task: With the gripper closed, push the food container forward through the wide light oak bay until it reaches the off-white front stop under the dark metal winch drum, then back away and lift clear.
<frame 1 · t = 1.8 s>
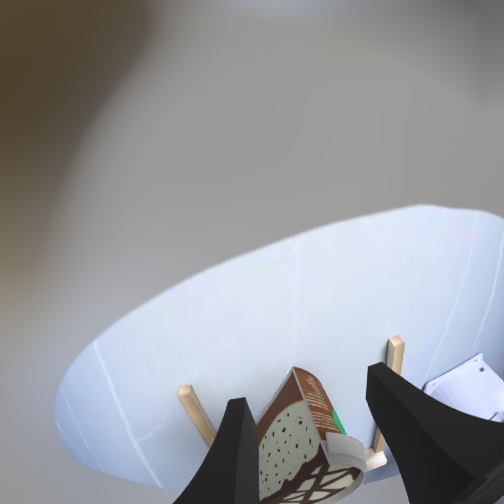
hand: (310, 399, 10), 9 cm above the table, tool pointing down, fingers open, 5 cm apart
food container: (299, 406, 22), on the table
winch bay: (303, 429, 23), on the table
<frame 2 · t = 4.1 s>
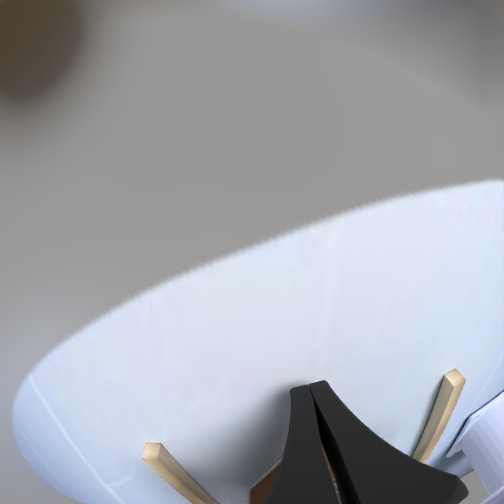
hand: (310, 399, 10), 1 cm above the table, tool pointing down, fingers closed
food container: (315, 463, 14), on the table, touching gripper
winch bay: (317, 484, 15), on the table
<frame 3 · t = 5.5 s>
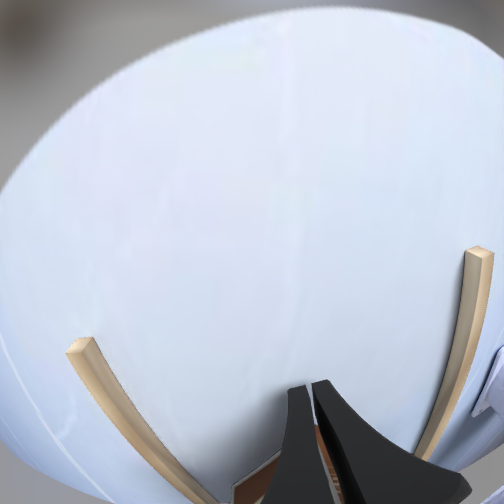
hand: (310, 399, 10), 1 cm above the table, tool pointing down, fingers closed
food container: (304, 465, 14), on the table, touching gripper
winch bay: (313, 439, 13), on the table
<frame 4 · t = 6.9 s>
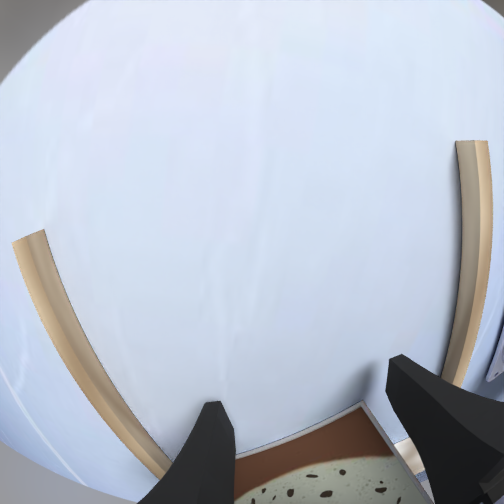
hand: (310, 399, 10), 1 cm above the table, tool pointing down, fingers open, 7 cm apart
food container: (306, 453, 13), on the table, touching gripper, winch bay
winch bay: (299, 389, 11), on the table
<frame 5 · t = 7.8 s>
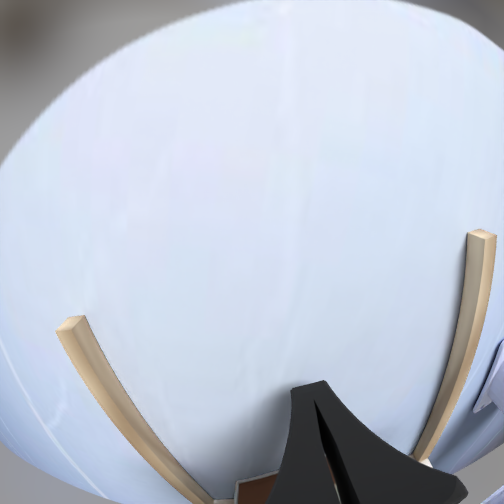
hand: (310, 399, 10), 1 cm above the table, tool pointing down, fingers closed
food container: (313, 473, 14), on the table
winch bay: (311, 431, 12), on the table
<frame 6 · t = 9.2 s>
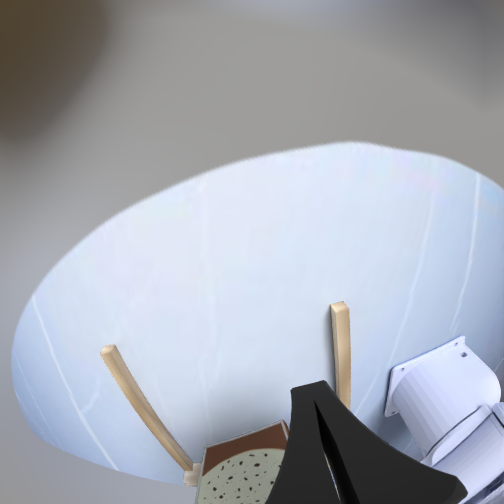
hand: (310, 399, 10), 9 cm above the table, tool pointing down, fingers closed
food container: (257, 445, 24), on the table
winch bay: (244, 412, 22), on the table
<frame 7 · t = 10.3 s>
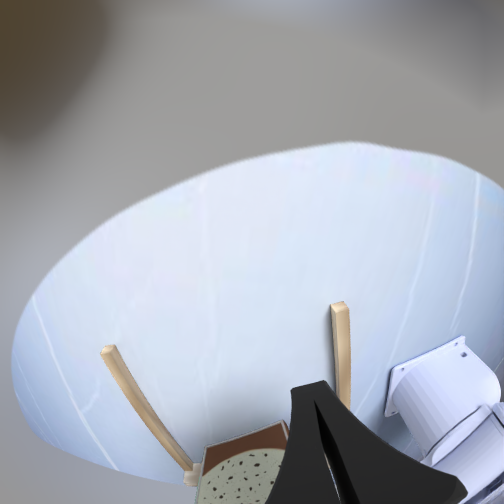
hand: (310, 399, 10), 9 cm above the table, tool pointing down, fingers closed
food container: (257, 445, 24), on the table
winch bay: (244, 412, 22), on the table
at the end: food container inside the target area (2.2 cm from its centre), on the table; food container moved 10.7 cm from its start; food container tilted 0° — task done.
